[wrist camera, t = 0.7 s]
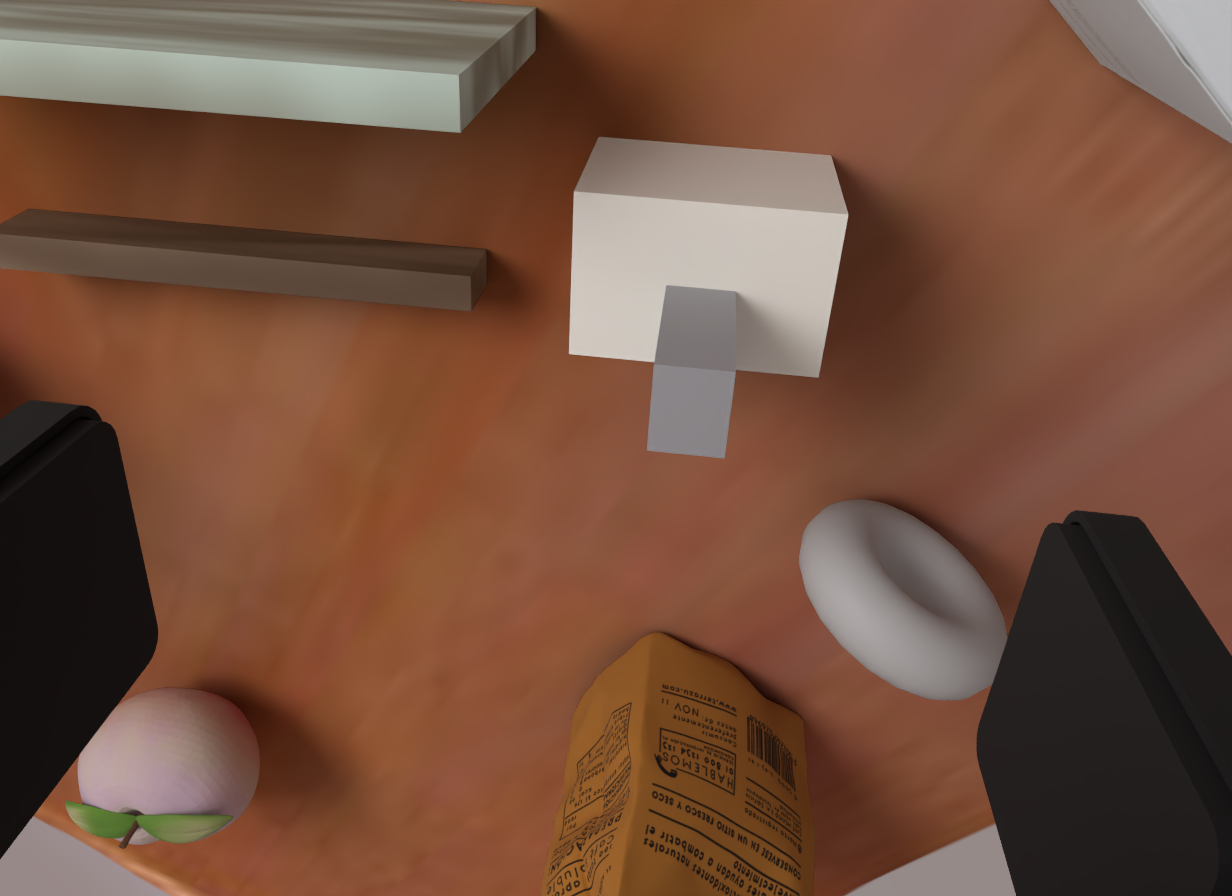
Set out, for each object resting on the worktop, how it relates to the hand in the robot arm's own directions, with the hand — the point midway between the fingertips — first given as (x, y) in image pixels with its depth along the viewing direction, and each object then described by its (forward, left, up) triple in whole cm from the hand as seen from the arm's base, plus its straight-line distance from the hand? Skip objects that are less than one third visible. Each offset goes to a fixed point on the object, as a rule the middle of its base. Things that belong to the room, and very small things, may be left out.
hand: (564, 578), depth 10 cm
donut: (+21, +11, -31) cm, 39 cm away
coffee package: (+35, +3, -31) cm, 47 cm away
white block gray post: (+7, +1, -31) cm, 32 cm away
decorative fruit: (+38, -25, -31) cm, 55 cm away
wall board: (+5, -18, -31) cm, 36 cm away
